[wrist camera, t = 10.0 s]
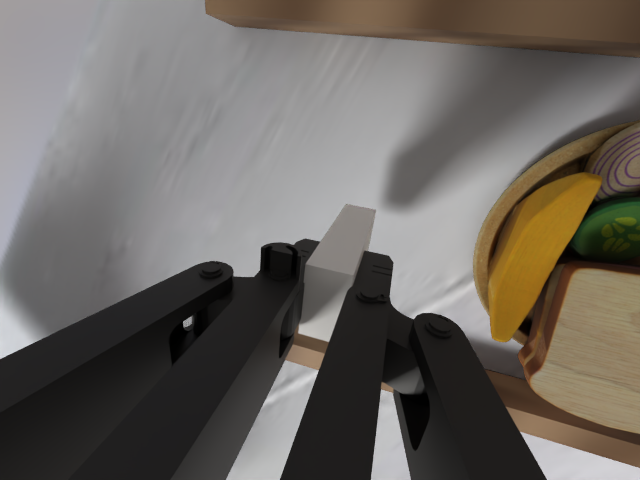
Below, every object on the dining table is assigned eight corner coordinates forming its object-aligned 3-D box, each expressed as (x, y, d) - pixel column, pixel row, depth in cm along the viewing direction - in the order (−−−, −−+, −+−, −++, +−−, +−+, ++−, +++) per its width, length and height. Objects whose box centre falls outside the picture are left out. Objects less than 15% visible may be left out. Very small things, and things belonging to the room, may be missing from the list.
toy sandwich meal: (893, 149, 11) (1168, 175, 7) (660, 394, 17) (738, 486, 13) (531, 90, 14) (583, 84, 9) (433, 325, 20) (438, 385, 15)
